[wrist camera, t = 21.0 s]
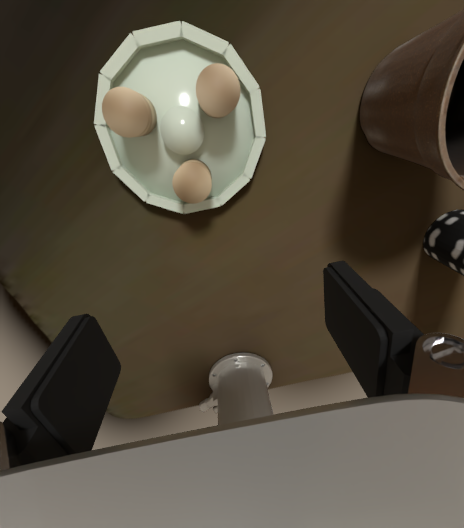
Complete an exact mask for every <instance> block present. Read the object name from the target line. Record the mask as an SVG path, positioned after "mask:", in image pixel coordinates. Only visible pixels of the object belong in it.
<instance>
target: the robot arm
mask: <svg viewBox="0 0 464 528" xmlns="http://www.w3.org/2000/svg"><path fill="white" fill-rule="evenodd" d="M323 274H324V302H325V322H326V326H327V329H328V331H329V332H330V334H331V336H332V337H333V339H334V341H335V342H336V344H337V346H338V348H339V349H340V351H341V353H342V354H343V356H344V358H345V359H346V361H347V363H348V364H349V366H350V368H351V370H352V371H353V373H354V374H355V376H356V378H357V380H358V381H359V383H360V385H361V386H362V388H363V390H364V392H365V393H366V395H367V397H368V398H363V399H357V400H351V401H346V402H340V403H334V404H328V405H322V406H317V407H311V408H306V409H301V410H296V411H290V412H285V413H280V414H275V415H273V411H272V407H271V402H270V398H269V393H268V386H269V385H270V383H271V381H272V370H271V367H270V365H269V363H268V362H267V361H266V360H265V359H264V358H262V357H260V356H258V355H256V354H252V353H235V354H231V355H228V356H225V357H223V358H222V359H220V360H219V361H217V362H216V363H215V364H214V365H213V367H212V368H211V370H210V373H209V384H210V387H211V389H212V390H213V393H211V394H210V397H209V398H206V399H205V400H203V401H202V402H200V404H199V408H200V409H201V411H202V412H205V411H207V410H208V409H210V408H211V407H212V406H214V405H215V406H214V407H213V410H214V412H215V413H218V425H217V426H213V427H207V428H202V429H197V430H192V431H187V432H182V433H177V434H171V435H167V436H162V437H156V438H151V439H147V440H142V441H137V442H131V443H126V444H122V445H116V446H112V447H107V448H102V449H97V450H92V447H93V445H94V442H95V439H96V437H97V434H98V431H99V428H100V426H101V423H102V420H103V418H104V415H105V412H106V409H107V407H108V404H109V401H110V398H111V396H112V393H113V390H114V388H115V385H116V382H117V379H118V377H119V374H120V371H121V365H120V362H119V360H118V358H117V356H116V354H115V353H114V351H113V349H112V347H111V345H110V344H109V342H108V340H107V338H106V336H105V335H104V333H103V331H102V329H101V327H100V326H99V324H98V322H97V320H96V319H95V317H93V316H90V315H89V314H83V315H78V316H74V317H71V318H70V319H69V321H68V322H67V323H66V325H65V326H64V327H63V329H62V330H61V332H60V333H59V334H58V336H57V337H56V338H55V340H54V341H53V342H52V344H51V345H50V347H49V348H48V349H47V351H46V352H45V354H44V355H43V356H42V357H41V359H40V360H39V361H38V363H37V364H36V366H35V367H34V368H33V370H32V371H31V373H30V374H29V375H28V376H27V378H26V379H25V380H24V382H23V383H22V385H21V386H20V387H19V389H18V390H17V391H16V393H15V394H14V395H13V397H12V398H11V399H10V401H9V402H8V404H7V405H6V406H5V408H4V409H3V410H2V413H3V414H4V415H5V416H6V417H7V418H6V419H5V420H4V422H3V423H2V422H0V528H464V339H462V338H460V337H457V336H453V335H450V334H445V333H429V334H425V335H424V334H423V333H422V332H421V331H420V330H419V329H418V328H417V327H416V326H414V325H413V324H412V323H411V322H410V321H409V320H408V319H407V318H406V317H405V316H404V315H403V314H402V313H401V312H400V311H399V310H398V309H397V308H396V307H395V306H394V305H393V304H392V303H390V302H389V301H388V300H387V299H386V298H385V297H384V296H383V295H382V294H381V293H380V292H379V291H378V290H376V289H373V288H371V287H370V286H369V285H368V284H367V283H366V282H365V281H364V280H363V279H362V278H361V277H360V276H359V275H358V274H357V273H356V272H355V271H354V270H353V269H352V268H351V267H350V266H349V265H348V264H347V263H346V262H345V261H339V262H334V263H329V264H328V266H327V268H324V270H323ZM91 450H92V451H91Z"/></svg>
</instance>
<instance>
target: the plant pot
mask: <svg viewBox="0 0 464 528" xmlns="http://www.w3.org/2000/svg"><path fill="white" fill-rule="evenodd" d="M360 124H361V128H362V130H363V131H364V133H365V136H366V138H367V140H368V142H369V144H370V145H371V146H373V147H374V148H375V149H377V150H378V151H380V152H383V153H386V154H390V155H393V156H396V157H399V158H402V159H405V160H408V161H410V162H413V163H416V164H419V165H422V166H425V167H427V168H430V169H432V170H433V171H434V172H435V173H437V174H438V175H440V176H442V177H444V178H447V179H450V180H451V181H453V182H454V183H455V184H456V185H457V186H458V187H460V188H461V189H463V190H464V9H463V10H462V11H460V12H458V13H457V14H455V15H453V16H451V17H450V18H448V19H446V20H445V21H443V22H441V23H439V24H438V25H436V26H434V27H432V28H430V29H429V30H427V31H425V32H423V33H422V34H420V35H418V36H416V37H415V38H413V39H411V40H409V41H408V42H406V43H404V44H402V45H400V46H399V47H397V48H396V49H395V50H393V51H392V52H391V53H390V54H389V55H388V56H386V57H385V58H384V59H383V60H382V61H381V62H380V63H379V64H378V66H377V67H376V68H375V70H374V71H373V73H372V75H371V76H370V78H369V80H368V82H367V85H366V87H365V90H364V93H363V96H362V100H361V106H360Z"/></svg>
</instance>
